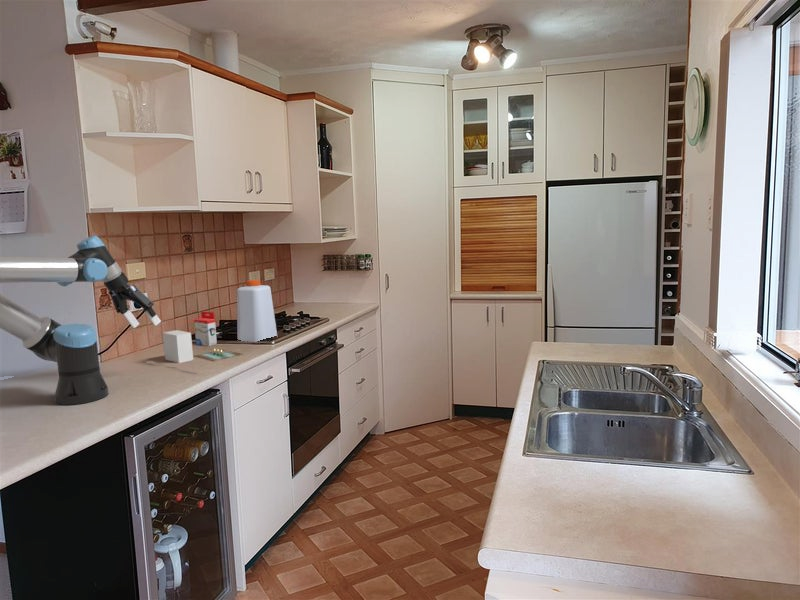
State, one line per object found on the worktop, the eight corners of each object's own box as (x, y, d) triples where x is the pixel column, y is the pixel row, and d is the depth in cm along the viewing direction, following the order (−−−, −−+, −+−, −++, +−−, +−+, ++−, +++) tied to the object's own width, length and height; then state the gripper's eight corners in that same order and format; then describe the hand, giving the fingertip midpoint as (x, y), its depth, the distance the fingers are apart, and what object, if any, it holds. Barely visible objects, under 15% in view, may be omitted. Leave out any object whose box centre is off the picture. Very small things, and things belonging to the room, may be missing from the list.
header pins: (221, 356, 236) (220, 350, 236) (212, 354, 240) (212, 348, 240) (223, 355, 237) (222, 349, 236) (215, 353, 241) (214, 347, 240)
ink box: (195, 345, 266) (192, 313, 264) (203, 342, 271) (201, 311, 269) (209, 346, 262) (206, 313, 260) (217, 344, 267) (214, 312, 265)
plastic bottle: (262, 345, 260) (257, 282, 256) (233, 344, 265) (228, 282, 261) (281, 338, 273) (276, 278, 270) (253, 337, 279) (249, 278, 275)
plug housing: (179, 365, 228) (176, 335, 226) (165, 362, 235) (162, 332, 233) (193, 362, 232) (190, 332, 231) (179, 359, 239) (176, 330, 238)
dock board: (213, 364, 228) (213, 361, 228) (192, 359, 239) (191, 356, 239) (244, 357, 239) (244, 354, 238) (222, 352, 249) (222, 349, 249)
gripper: (140, 266, 204) (174, 316, 213) (102, 275, 218) (135, 321, 227) (124, 278, 199) (159, 328, 208) (85, 286, 213) (120, 333, 222)
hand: (147, 325), depth 217 cm, fingers open, 13 cm apart
